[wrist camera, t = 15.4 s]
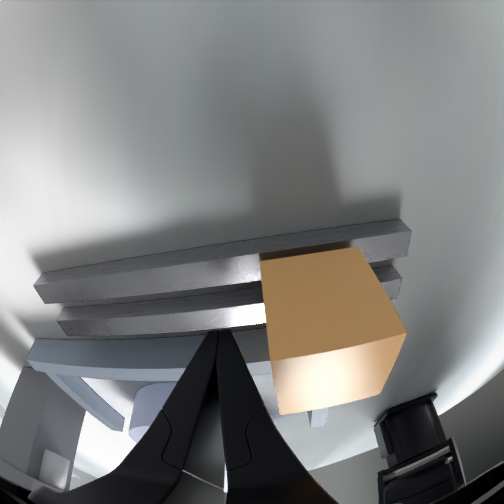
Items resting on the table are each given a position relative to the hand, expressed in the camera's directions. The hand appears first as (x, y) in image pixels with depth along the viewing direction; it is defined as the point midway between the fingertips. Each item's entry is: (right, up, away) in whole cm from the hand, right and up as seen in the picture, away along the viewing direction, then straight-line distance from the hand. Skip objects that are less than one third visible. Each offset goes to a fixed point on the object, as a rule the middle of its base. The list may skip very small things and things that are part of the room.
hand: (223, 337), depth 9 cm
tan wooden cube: (+3, +2, +2) cm, 4 cm away
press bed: (-7, -7, +8) cm, 13 cm away
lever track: (-1, +2, +2) cm, 3 cm away
